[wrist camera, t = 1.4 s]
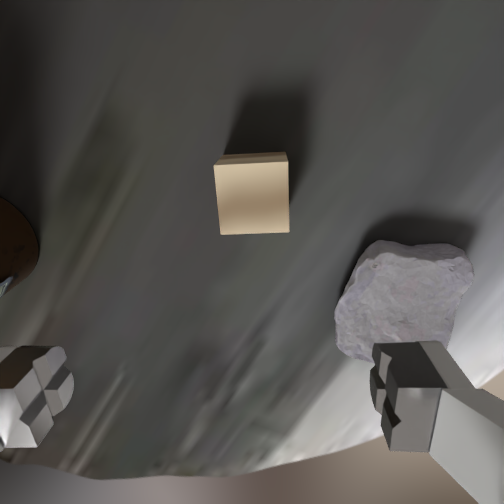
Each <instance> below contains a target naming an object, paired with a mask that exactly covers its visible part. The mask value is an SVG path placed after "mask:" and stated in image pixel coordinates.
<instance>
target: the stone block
mask: <svg viewBox="0 0 504 504" xmlns="http://www.w3.org/2000/svg"><path fill="white" fill-rule="evenodd" d="M473 278H474V271H473V266H472V263H471V262H470V260H469V259H468V257H467V256H466V254H465V252H464V250H462V249H460V248H458V247H455V246H453V245H450V244H448V243H436V244H421V245H414V246H406V245H403V244H399V243H397V242H393V241H384V240H377V241H376V242H374V243H372V244H371V245H370V246H369V247H367V248H366V250H365V251H364V253H363V254H362V255H361V257H360V258H359V259H358V262H357V264H356V266H355V268H354V270H353V273H352V275H351V277H350V280H349V281H348V283H347V285H346V287H345V290H344V293H343V295H342V296H341V297H340V299H339V302H338V304H337V306H336V308H335V315H334V317H335V321H336V337H335V340H336V344H337V346H338V348H339V349H340V350H341V351H342V352H343V353H345V354H347V355H349V356H350V357H353V358H355V359H360V360H364V361H368V362H371V363H374V360H373V358H372V349H373V345H374V343H378V342H416V341H433V340H437V341H439V342H441V343H442V344H443V346H444V347H445V349H447V346H448V343H449V340H450V337H451V333H452V329H453V324H454V318H455V313H456V310H457V307H458V304H459V303H460V301H461V299H462V296H463V293H464V292H465V291H466V290H467V289H468V288H469V287H470V286H471V284H472V281H473Z"/></svg>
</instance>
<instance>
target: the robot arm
mask: <svg viewBox="0 0 504 504" xmlns="http://www.w3.org/2000/svg"><path fill="white" fill-rule="evenodd" d="M372 358H373V360H374V363H375V366H374V367H373V368H372V369H371V370H370V391H371V396H372V401H373V404H374V407H375V410H376V411H378V412H379V413H380V414H381V415H382V419H381V427H382V430H383V433H384V436H385V438H386V441H387V444H388V447H389V450H390V451H407V452H430V453H429V455H430V456H431V457H432V458H433V459H434V460H435V461H436V462H437V463H439V465H441V466H442V467H443V468H444V469H445V470H446V471H447V472H448V473H449V474H450V475H451V476H452V477H453V478H454V479H455V480H456V481H457V482H458V483H459V484H460V485H461V486H462V487H463V488H464V489H465V490H466V491H467V492H468V493H469V494H470V495H471V496H472V497H473V498H474V499H475V500H476V501H477V502H478V503H479V504H504V401H503V400H501V399H499V398H498V397H496V396H494V395H492V394H490V393H489V392H487V391H485V390H484V389H475V387H474V386H473V385H472V383H471V382H470V381H469V379H468V378H467V377H466V375H465V374H464V373H463V371H462V370H461V369H460V367H459V366H458V365H457V363H456V362H455V361H454V359H453V358H452V357H451V355H450V354H449V353H448V351H447V350H446V349H445V347H444V346H443V344H442V343H441V342H439V341H437V340H433V341H416V342H378V343H374V345H373V349H372ZM66 359H67V358H66V355H65V353H64V350H63V348H61V347H58V346H3V347H0V452H1V451H2V450H3V448H14V447H38V445H39V444H40V442H41V441H42V440H43V438H44V437H45V435H46V434H47V433H48V431H49V430H50V428H51V427H52V426H53V424H54V420H53V416H54V415H56V414H57V413H59V412H60V411H62V410H63V409H64V408H65V407H66V405H67V404H68V402H69V401H70V399H71V396H72V392H73V389H74V381H73V376H72V373H71V371H69V370H68V369H67V368H66V367H65V366H64V363H65V361H66Z"/></svg>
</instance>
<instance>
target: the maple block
mask: <svg viewBox="0 0 504 504" xmlns="http://www.w3.org/2000/svg"><path fill="white" fill-rule="evenodd" d="M214 173H215V183H216V193H217V203H218V212H219V222H220V232H221V235H224V234H252V233H280V232H289V186H288V159H287V156H286V152H270V153H251V154H232V155H223V156H222V157H221V158H220V159H219V160H218V161H217V162H216V163H215V165H214Z"/></svg>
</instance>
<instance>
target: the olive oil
mask: <svg viewBox="0 0 504 504" xmlns="http://www.w3.org/2000/svg"><path fill="white" fill-rule="evenodd" d="M37 260H38V243H37V239H36V236H35V234H34V231H33V229H32V227H31V226H30V224H29V223H28V221H27V220H26V218H25V217H24V216H23V215H22V214H21V213H20V212H19V211H18V210H17V209H16V208H15V207H14V206H13V205H11V204H10V203H9V202H7V201H6V200H4V199H2V198H1V197H0V298H1V297H2V296H3V295H4V294H6V293H7V292H8V291H10V290H11V289H12V288H13V287H15V286H16V285H17V284H19V283H20V282H21V281H23V280H24V279H25V278H26V277H27V276H28V275H29V274H30V273H31V272H32V271H33V270H34V268H35V266H36V264H37Z"/></svg>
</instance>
